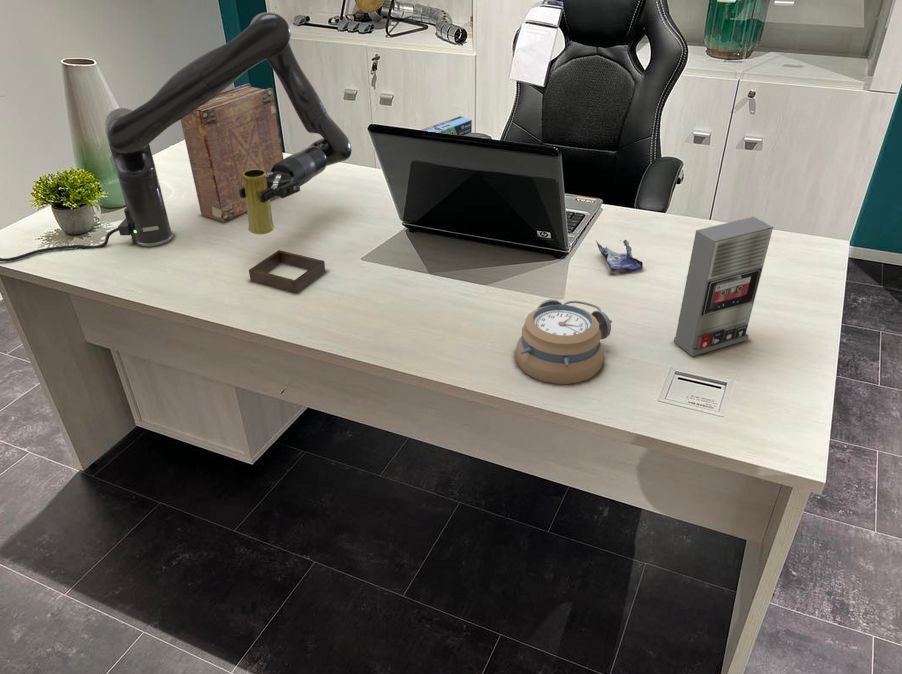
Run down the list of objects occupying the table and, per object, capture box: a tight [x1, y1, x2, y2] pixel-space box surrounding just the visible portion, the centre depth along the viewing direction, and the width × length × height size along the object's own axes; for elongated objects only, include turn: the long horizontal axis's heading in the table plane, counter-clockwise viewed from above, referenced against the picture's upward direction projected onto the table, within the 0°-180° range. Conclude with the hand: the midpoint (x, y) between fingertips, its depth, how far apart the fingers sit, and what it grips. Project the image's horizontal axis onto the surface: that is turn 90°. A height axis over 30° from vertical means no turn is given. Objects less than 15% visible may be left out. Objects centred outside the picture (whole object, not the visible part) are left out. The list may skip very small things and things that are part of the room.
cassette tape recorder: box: [673, 216, 774, 357], centre depth 148 cm, size 14×6×25 cm, turn 114°
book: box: [179, 82, 286, 224], centre depth 210 cm, size 25×9×30 cm, turn 145°
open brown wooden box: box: [248, 249, 327, 294], centre depth 182 cm, size 14×12×3 cm
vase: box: [243, 169, 275, 235], centre depth 181 cm, size 6×6×14 cm
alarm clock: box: [515, 299, 613, 385], centre depth 152 cm, size 17×9×23 cm
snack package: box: [595, 239, 644, 275], centre depth 183 cm, size 12×6×12 cm
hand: (250, 196), depth 178 cm, fingers closed on vase, 5 cm apart
